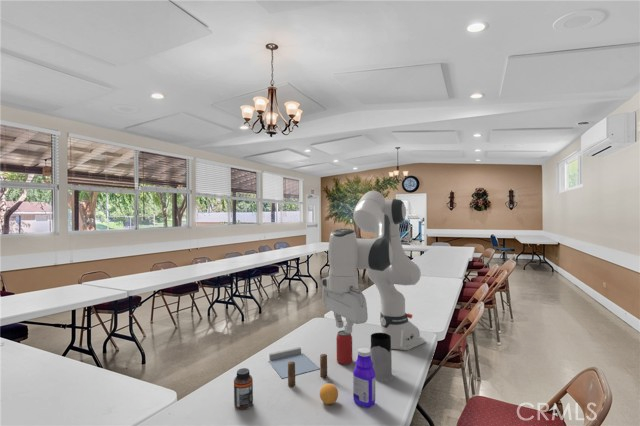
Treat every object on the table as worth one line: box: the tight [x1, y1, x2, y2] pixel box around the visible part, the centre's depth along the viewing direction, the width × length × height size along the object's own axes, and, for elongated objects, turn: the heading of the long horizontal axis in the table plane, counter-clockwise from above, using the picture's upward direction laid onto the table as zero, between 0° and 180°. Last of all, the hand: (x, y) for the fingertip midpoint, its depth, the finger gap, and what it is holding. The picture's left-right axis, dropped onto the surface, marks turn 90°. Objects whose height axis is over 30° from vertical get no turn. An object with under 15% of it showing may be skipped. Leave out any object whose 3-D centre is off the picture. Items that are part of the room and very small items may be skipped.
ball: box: [319, 382, 339, 405], centre depth 108 cm, size 6×6×6 cm
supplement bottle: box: [233, 367, 254, 411], centre depth 107 cm, size 6×6×11 cm
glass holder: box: [369, 332, 394, 383], centre depth 128 cm, size 9×14×15 cm, turn 158°
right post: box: [319, 353, 328, 379], centre depth 125 cm, size 3×3×8 cm
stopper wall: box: [268, 346, 302, 361], centre depth 143 cm, size 14×2×2 cm, turn 117°
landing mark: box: [267, 352, 320, 380], centre depth 135 cm, size 16×16×1 cm
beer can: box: [335, 329, 353, 365], centre depth 138 cm, size 7×7×12 cm
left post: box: [287, 361, 296, 388], centre depth 119 cm, size 3×3×8 cm
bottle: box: [352, 347, 376, 409], centre depth 108 cm, size 7×6×17 cm
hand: (344, 329), depth 99 cm, fingers open, 3 cm apart
